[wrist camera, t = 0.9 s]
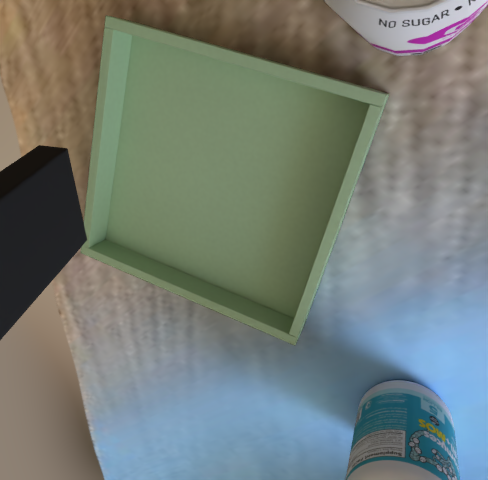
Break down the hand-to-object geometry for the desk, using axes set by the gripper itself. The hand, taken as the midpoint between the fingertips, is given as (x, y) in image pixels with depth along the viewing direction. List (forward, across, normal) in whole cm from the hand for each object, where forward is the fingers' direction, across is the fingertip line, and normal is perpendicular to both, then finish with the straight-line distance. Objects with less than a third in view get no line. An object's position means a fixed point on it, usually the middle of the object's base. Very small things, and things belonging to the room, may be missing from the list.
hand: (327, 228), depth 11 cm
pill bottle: (+16, +9, -27) cm, 33 cm away
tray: (+22, -8, -11) cm, 26 cm away
